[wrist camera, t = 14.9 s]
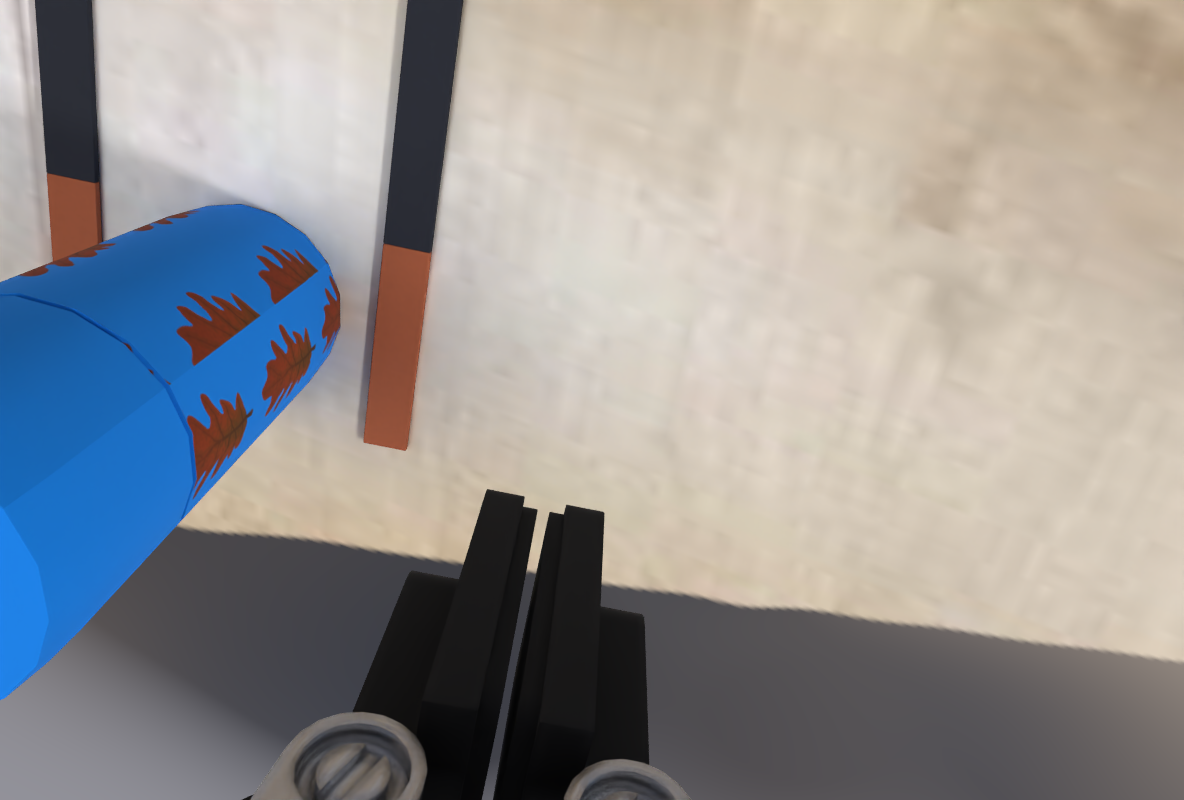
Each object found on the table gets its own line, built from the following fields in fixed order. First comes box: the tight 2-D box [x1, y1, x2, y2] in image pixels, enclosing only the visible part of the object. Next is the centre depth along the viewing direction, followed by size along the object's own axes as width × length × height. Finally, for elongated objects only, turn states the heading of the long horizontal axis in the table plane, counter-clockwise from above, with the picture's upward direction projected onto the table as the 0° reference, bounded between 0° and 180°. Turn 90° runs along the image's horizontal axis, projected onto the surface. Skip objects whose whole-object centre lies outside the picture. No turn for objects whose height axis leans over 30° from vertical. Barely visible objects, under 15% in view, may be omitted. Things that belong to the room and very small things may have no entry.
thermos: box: [0, 204, 340, 700], centre depth 33 cm, size 11×11×25 cm
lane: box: [35, 0, 463, 451], centre depth 42 cm, size 26×20×1 cm
